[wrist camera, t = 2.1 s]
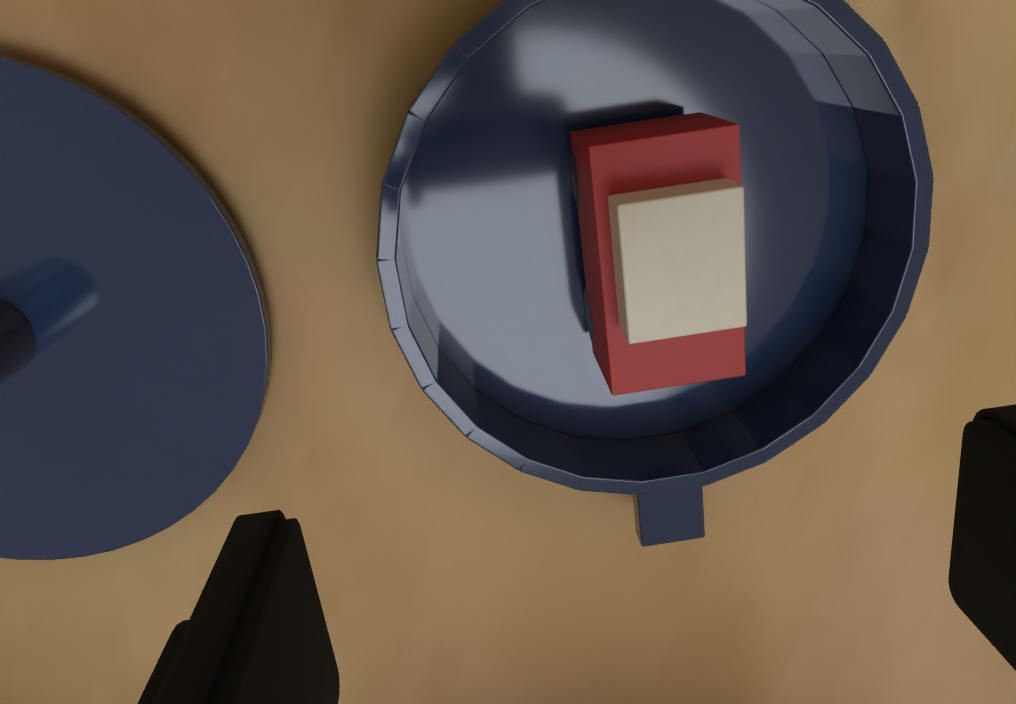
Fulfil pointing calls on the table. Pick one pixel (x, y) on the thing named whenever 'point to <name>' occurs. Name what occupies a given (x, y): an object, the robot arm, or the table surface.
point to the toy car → (662, 249)
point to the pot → (558, 250)
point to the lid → (114, 325)
